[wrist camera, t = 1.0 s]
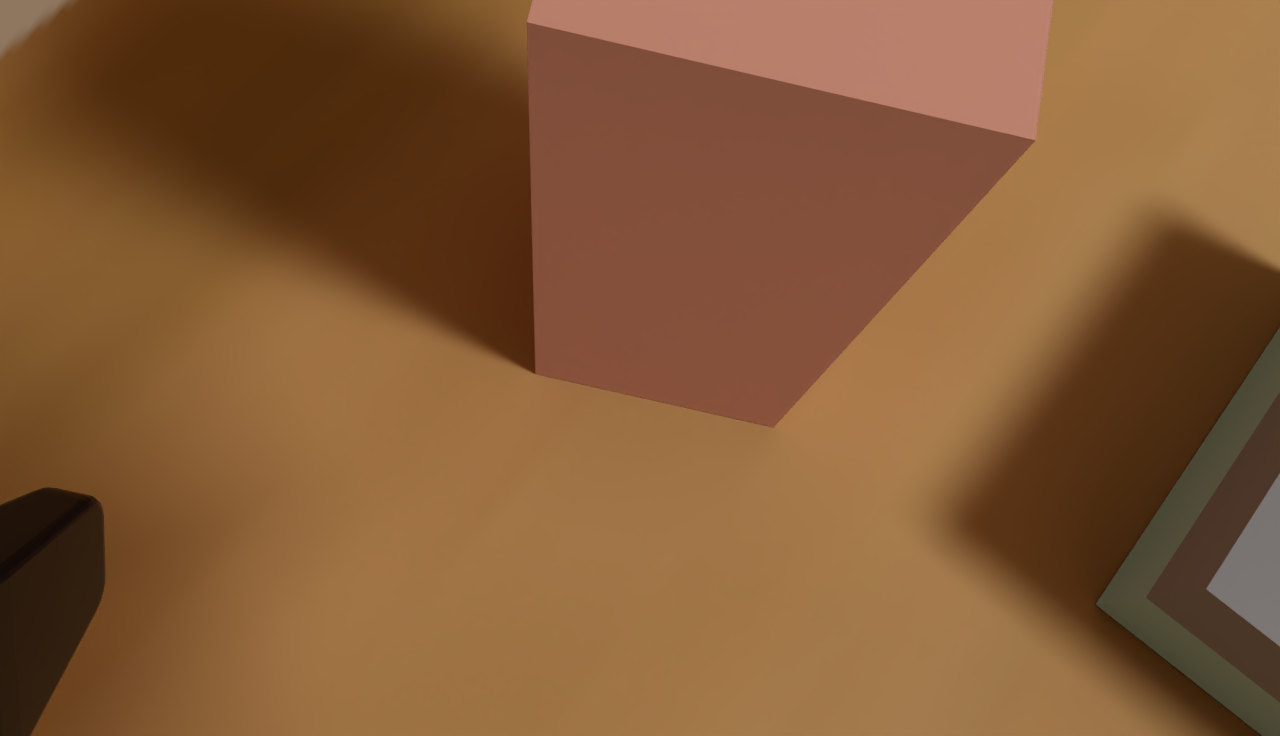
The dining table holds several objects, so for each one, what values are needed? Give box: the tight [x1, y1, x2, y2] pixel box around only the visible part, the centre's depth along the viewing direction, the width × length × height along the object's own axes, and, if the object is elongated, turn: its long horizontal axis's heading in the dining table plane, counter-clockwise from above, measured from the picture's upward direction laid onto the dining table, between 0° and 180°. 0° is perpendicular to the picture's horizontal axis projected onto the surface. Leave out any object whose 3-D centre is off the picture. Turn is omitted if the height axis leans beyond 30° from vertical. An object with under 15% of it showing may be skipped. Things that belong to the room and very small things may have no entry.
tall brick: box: [527, 0, 1053, 427], centre depth 18 cm, size 5×5×13 cm
